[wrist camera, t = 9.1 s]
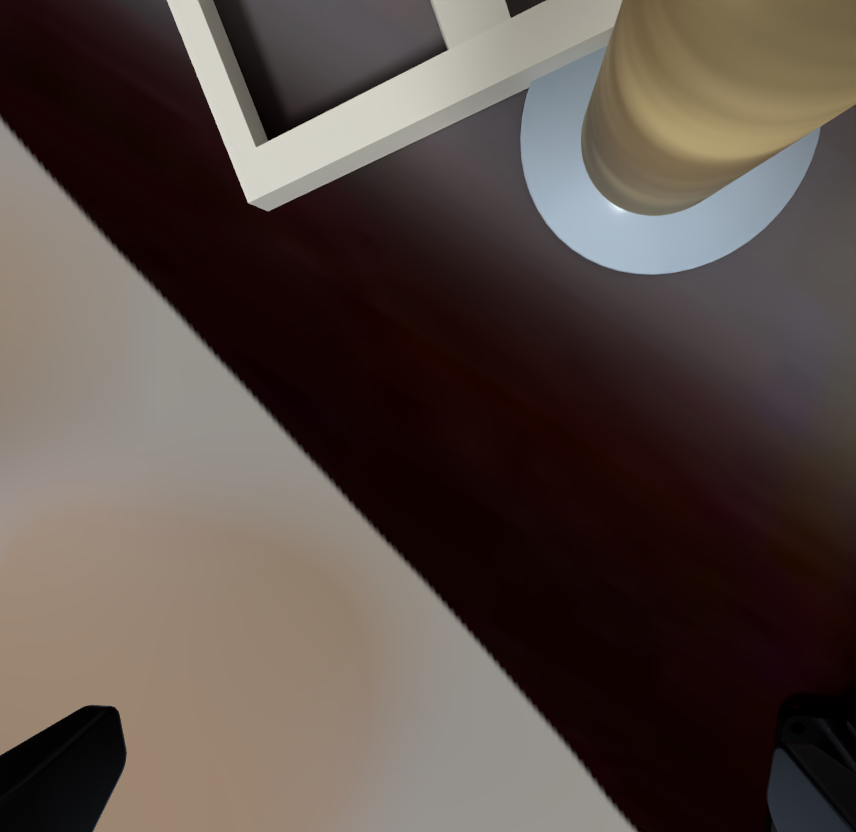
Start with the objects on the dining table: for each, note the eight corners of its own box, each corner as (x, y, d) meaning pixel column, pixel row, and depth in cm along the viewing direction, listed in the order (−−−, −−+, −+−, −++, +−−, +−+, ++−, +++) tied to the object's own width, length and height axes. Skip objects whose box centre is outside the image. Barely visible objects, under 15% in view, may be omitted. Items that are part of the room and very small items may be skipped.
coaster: (799, 270, 17) (806, 269, 17) (518, 278, 19) (518, 277, 18) (833, -46, 16) (841, -54, 15) (522, -10, 17) (522, -17, 17)
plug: (741, 211, 17) (1649, -222, 3) (578, 219, 18) (775, -97, 4) (754, 36, 16) (2058, -1516, 2) (582, 53, 17) (849, -1032, 3)
